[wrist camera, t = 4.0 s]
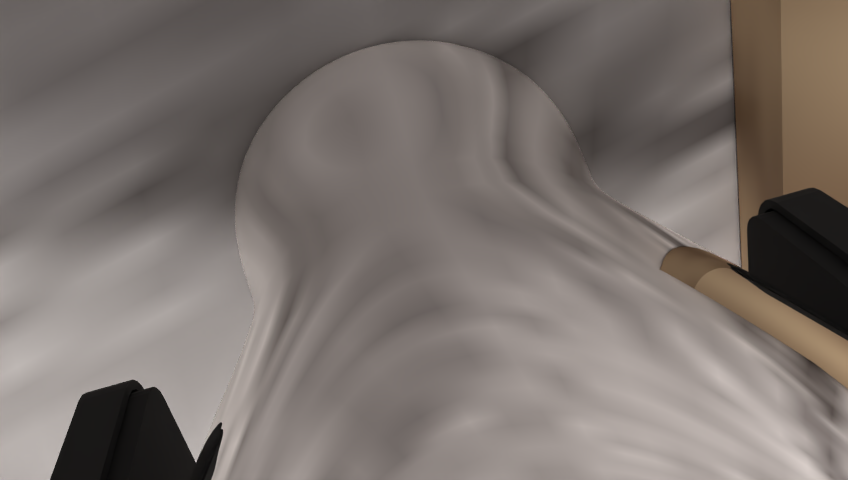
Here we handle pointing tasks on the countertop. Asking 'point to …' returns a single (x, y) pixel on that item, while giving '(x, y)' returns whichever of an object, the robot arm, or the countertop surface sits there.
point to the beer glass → (495, 303)
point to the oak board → (789, 100)
